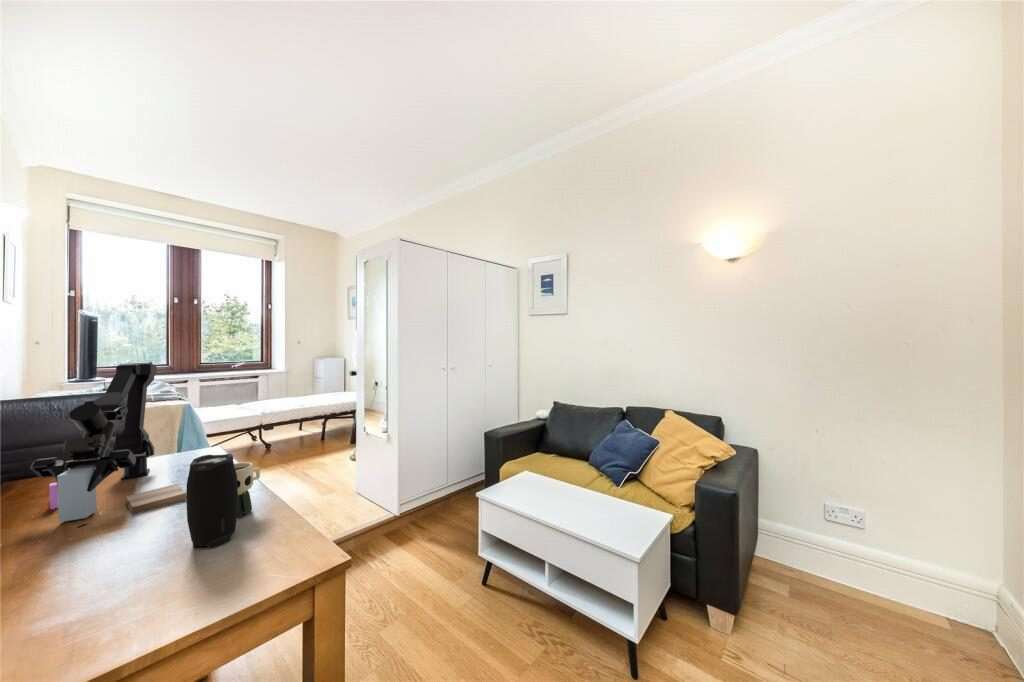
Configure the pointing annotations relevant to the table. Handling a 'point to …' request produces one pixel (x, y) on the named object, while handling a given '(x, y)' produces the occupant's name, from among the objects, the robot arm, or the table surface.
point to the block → (76, 494)
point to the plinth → (155, 498)
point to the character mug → (245, 485)
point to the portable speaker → (212, 500)
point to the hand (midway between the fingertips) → (74, 493)
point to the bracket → (53, 495)
